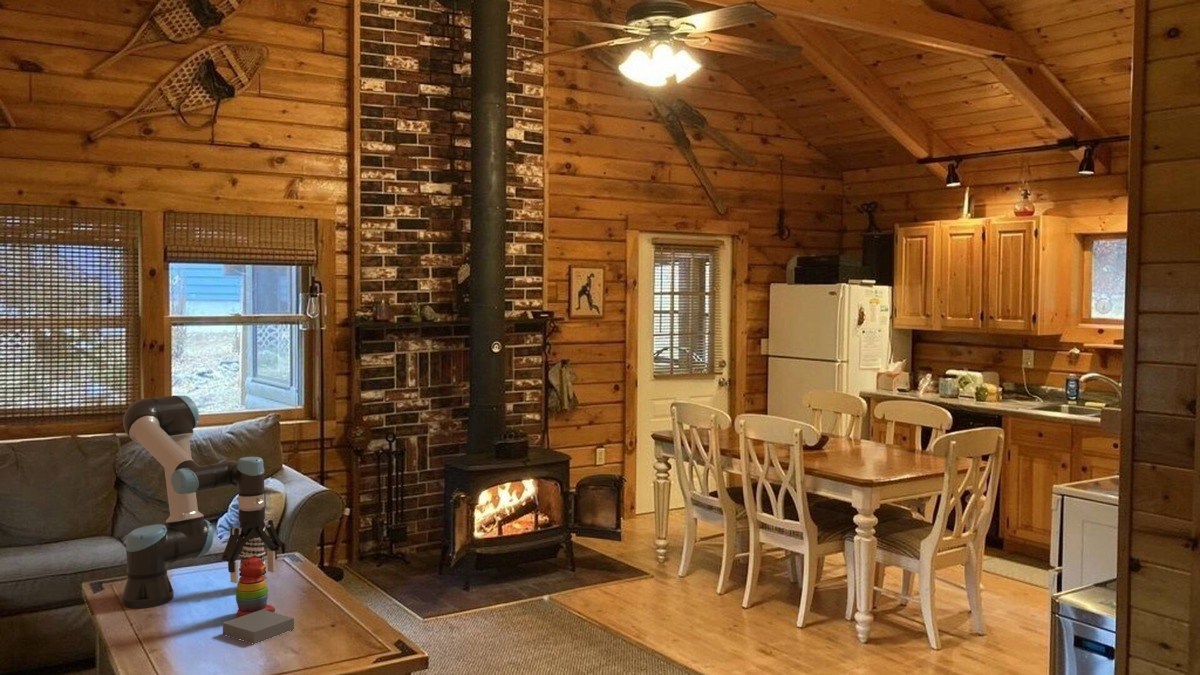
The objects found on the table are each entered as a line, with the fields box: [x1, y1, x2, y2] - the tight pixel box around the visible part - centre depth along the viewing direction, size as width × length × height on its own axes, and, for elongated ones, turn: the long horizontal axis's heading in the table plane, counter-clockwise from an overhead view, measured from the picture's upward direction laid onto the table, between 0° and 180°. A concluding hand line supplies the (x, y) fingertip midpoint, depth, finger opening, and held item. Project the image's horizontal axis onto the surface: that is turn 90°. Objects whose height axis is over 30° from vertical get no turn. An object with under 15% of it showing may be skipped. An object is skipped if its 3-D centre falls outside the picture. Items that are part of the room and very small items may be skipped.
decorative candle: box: [238, 528, 267, 581], centre depth 327 cm, size 9×9×25 cm
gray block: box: [222, 609, 295, 645], centre depth 286 cm, size 14×14×4 cm
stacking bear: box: [235, 555, 276, 618], centre depth 301 cm, size 11×10×18 cm
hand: (253, 577), depth 300 cm, fingers open, 13 cm apart
